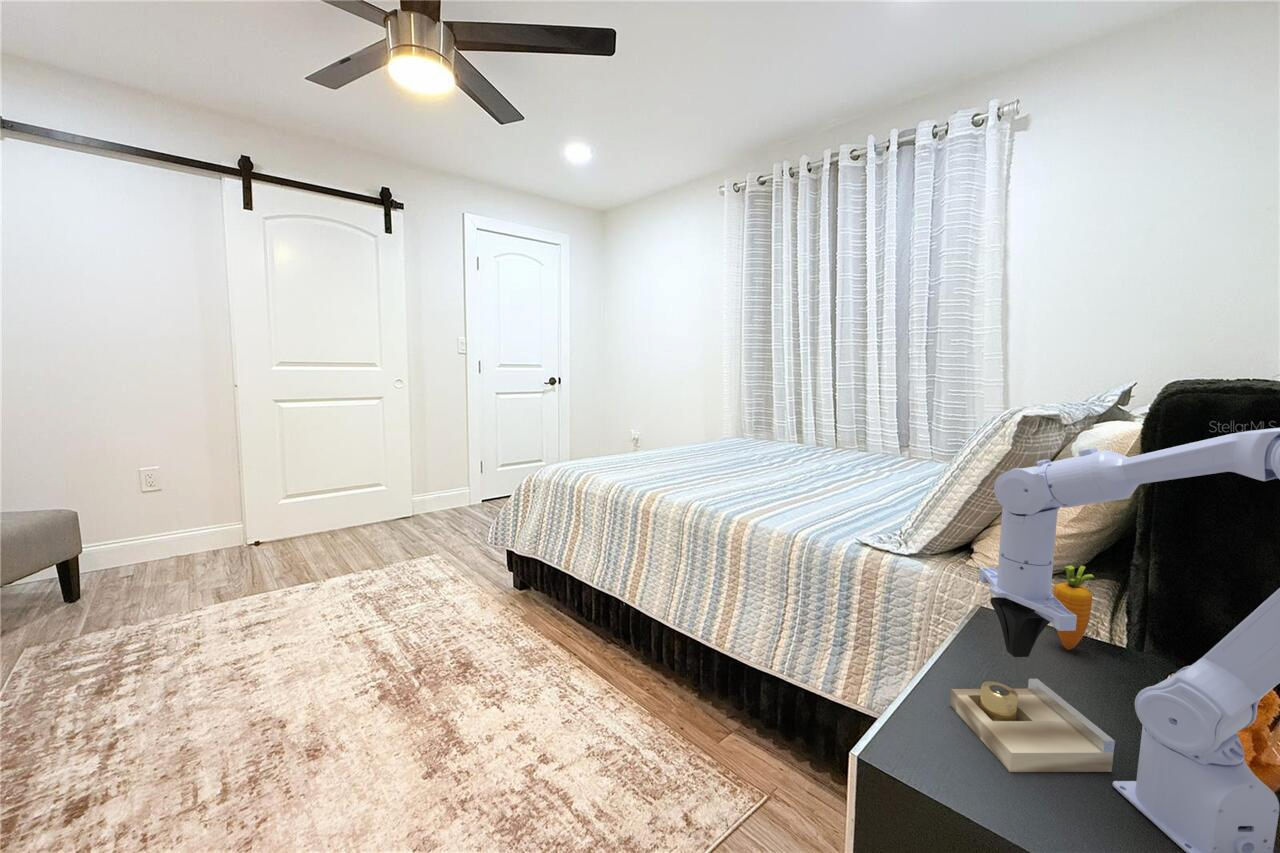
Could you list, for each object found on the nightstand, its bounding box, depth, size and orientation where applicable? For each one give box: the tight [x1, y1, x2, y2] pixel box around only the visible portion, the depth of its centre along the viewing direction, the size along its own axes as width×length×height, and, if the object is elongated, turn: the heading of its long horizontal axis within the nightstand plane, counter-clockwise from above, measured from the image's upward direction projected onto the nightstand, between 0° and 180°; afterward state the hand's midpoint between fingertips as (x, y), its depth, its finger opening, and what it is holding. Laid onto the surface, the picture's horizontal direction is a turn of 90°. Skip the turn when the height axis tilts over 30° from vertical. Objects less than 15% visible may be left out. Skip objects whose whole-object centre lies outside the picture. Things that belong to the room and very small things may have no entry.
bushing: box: [980, 680, 1018, 721], centre depth 68 cm, size 4×4×5 cm
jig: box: [949, 678, 1116, 773], centre depth 66 cm, size 12×12×4 cm
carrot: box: [1053, 565, 1095, 651], centre depth 85 cm, size 5×5×15 cm
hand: (1017, 654), depth 69 cm, fingers closed
